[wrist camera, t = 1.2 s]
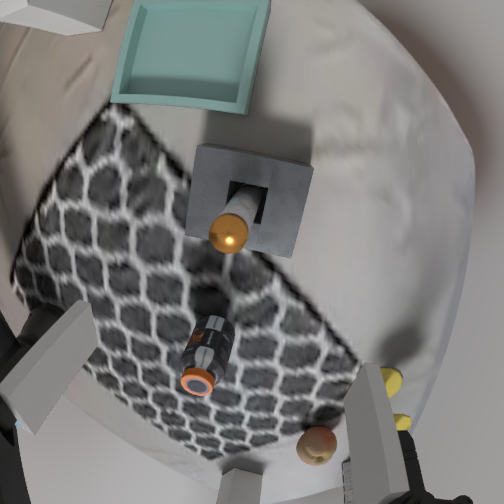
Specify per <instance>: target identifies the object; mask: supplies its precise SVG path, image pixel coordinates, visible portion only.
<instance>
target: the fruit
mask: <svg viewBox="0 0 504 504" xmlns="http://www.w3.org/2000/svg"><path fill="white" fill-rule="evenodd" d="M336 448H337V440H336V436H335V434H334V433H333V432H332V431H331V430H329V429H328V428H325V427H322V426H316V427H312V428H309V429H308V430H307V431H306V432H305V433H304V434H303V435H302V436H301V437H300V439H299V441H298V443H297V447H296V450H297V454H298V456H299V457H300V459H301V460H302V461H304V462H305V463H307V464H309V465H313V466H318V465H322V464H325V463H326V462H328V461H329V460H330V459H331V457H332V456H333V454H334V453H335V451H336Z"/></svg>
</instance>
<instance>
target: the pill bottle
mask: <svg viewBox="0 0 504 504" xmlns="http://www.w3.org/2000/svg"><path fill="white" fill-rule="evenodd" d="M234 337H235V331H234V328H233V326H232V325H231V324H230V323H229V322H228V321H227V320H226V319H224V318H222V317H219V316H214V315H209V316H205V317H202V318H201V319H200V320H199V321H198V322H197V323H196V326H195V328H194V330H193V333H192V335H191V337H190V339H189V342H188V344H187V346H186V349H185V351H184V353H183V355H182V358H181V360H180V370H181V372H182V374H183V375H182V378H181V384H182V386H183V388H184V389H185V390H187V391H188V392H190V393H192V394H195V395H200V396H204V395H208V394H210V393H211V392H212V390H213V387H214V385H216V384H218V383H219V382H221V381H222V379H223V378H224V376H225V372H226V368H227V364H228V361H229V357H230V353H231V349H232V346H233V341H234Z"/></svg>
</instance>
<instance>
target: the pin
mask: <svg viewBox="0 0 504 504" xmlns="http://www.w3.org/2000/svg"><path fill="white" fill-rule="evenodd" d="M261 198H262V192H261V189H260V188H259V187H258V186H256V185H251V184H244V185H242V186H241V187H240V188H239V190H238V191H237V192H236V193H235V195H234V196H233V197H232V199H231V200H230V201H229V202H228V204H227V205H226V206H225V207H224V209H223V210H222V211H221V213H220V214H219V215H218V217H217V218H216V219H215V220H214V222H213V223H212V224H211V226H210V228H209V239H210V242H211V244H212V245H213V246H214V247H215V248H216V249H217V250H218V251H220V252H223V253H228V254H230V253H235V252H238V251H239V250H241V249H242V248H243V247H244V245H245V244H246V241H247V238H248V235H249V232H250V230H251V227H252V224H253V221H254V218H255V215H256V212H257V210H258V207H259V204H260V201H261Z"/></svg>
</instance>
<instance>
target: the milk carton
mask: <svg viewBox="0 0 504 504" xmlns="http://www.w3.org/2000/svg"><path fill="white" fill-rule="evenodd" d="M111 3H112V0H0V22H7V23H13V24H18V25H23V26H28V27H33V28H38V29H42V30H46V31H50V32H54V33H58V34H62V35H66V36H70V35H76V34H82V33H89V32H97V31H102V29H103V26H104V23H105V20H106V17H107V14H108V11H109V8H110V6H111Z"/></svg>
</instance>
